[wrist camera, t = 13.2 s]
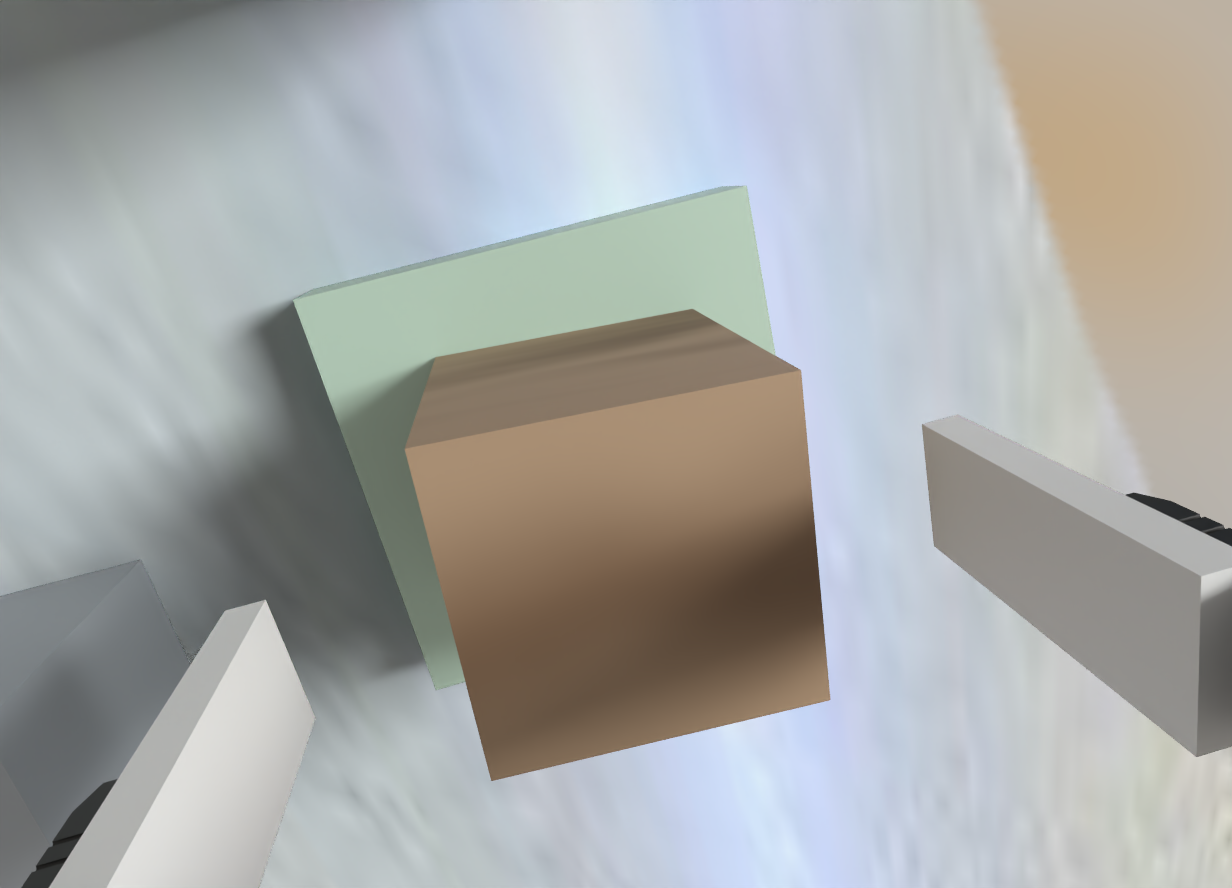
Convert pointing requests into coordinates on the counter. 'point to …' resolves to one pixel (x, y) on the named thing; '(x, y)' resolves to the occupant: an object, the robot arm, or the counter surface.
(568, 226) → the sage slab
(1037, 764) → the counter surface
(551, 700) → the walnut block
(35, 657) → the slate block
